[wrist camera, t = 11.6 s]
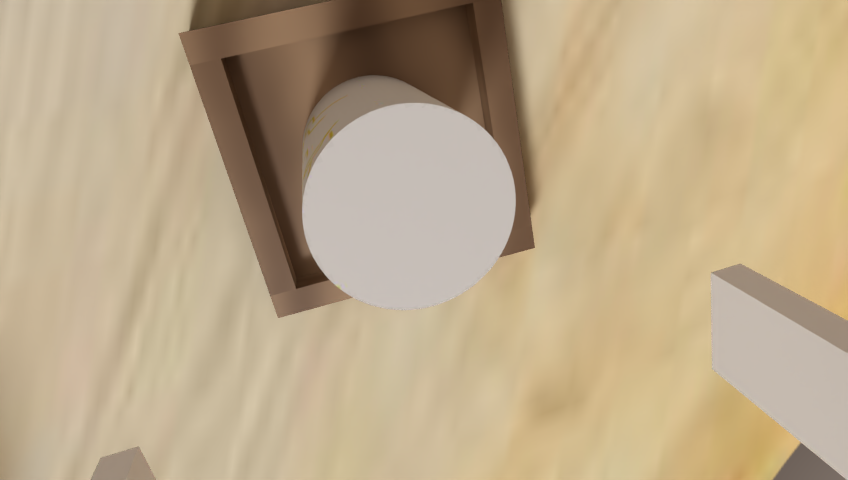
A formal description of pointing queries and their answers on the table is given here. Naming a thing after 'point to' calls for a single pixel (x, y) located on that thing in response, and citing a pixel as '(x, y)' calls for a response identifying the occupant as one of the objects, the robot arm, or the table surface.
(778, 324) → the robot arm
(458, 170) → the pale grey cylinder
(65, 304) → the table surface
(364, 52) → the tray
